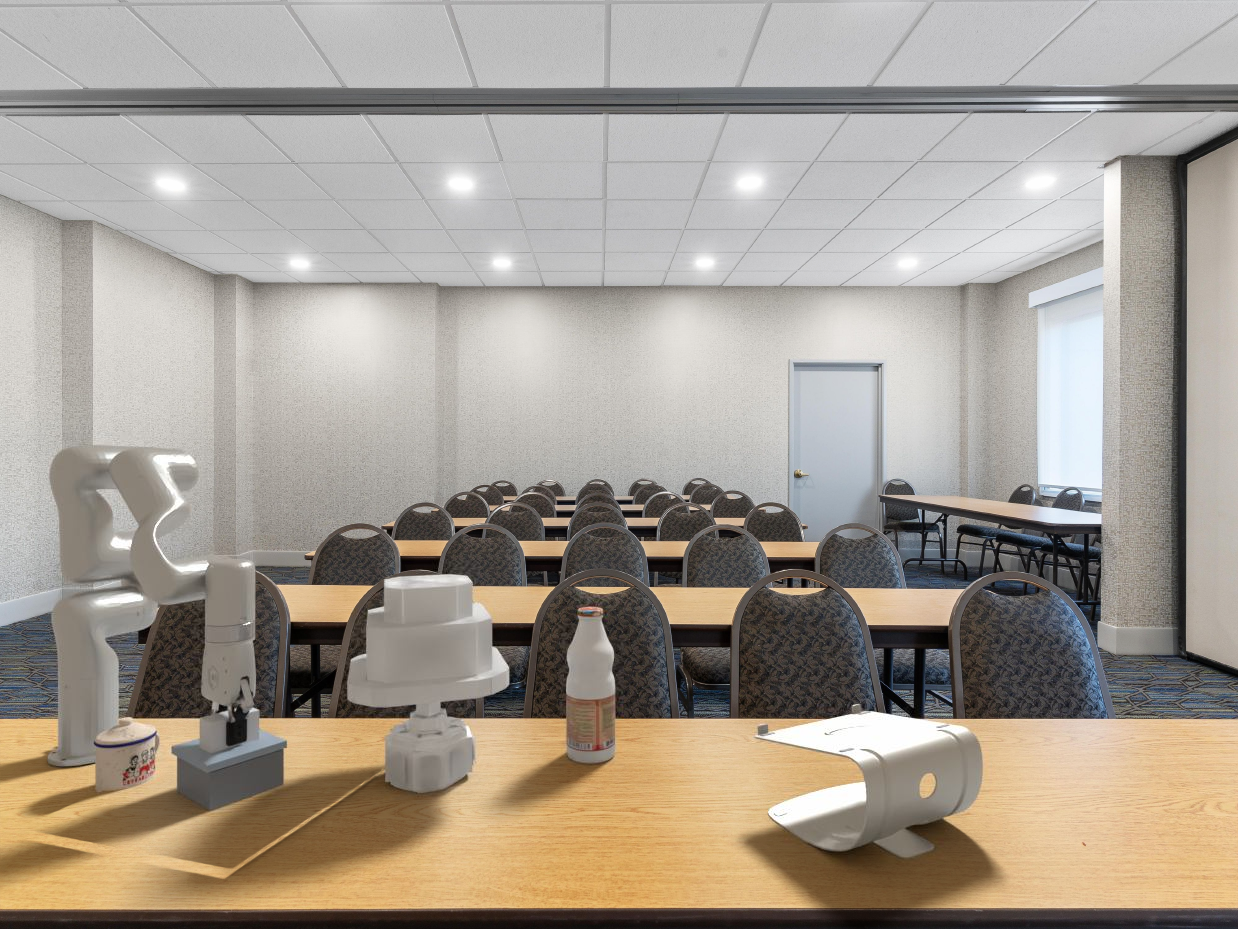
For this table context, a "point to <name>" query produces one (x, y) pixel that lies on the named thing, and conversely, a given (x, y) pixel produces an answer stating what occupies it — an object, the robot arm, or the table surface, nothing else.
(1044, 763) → the table surface
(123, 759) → the teacup with lid
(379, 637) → the white tiered tall piece
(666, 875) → the table surface
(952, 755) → the portable electronic device stand
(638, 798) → the table surface
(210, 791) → the storage box
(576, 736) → the fruit juice
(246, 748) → the lid
